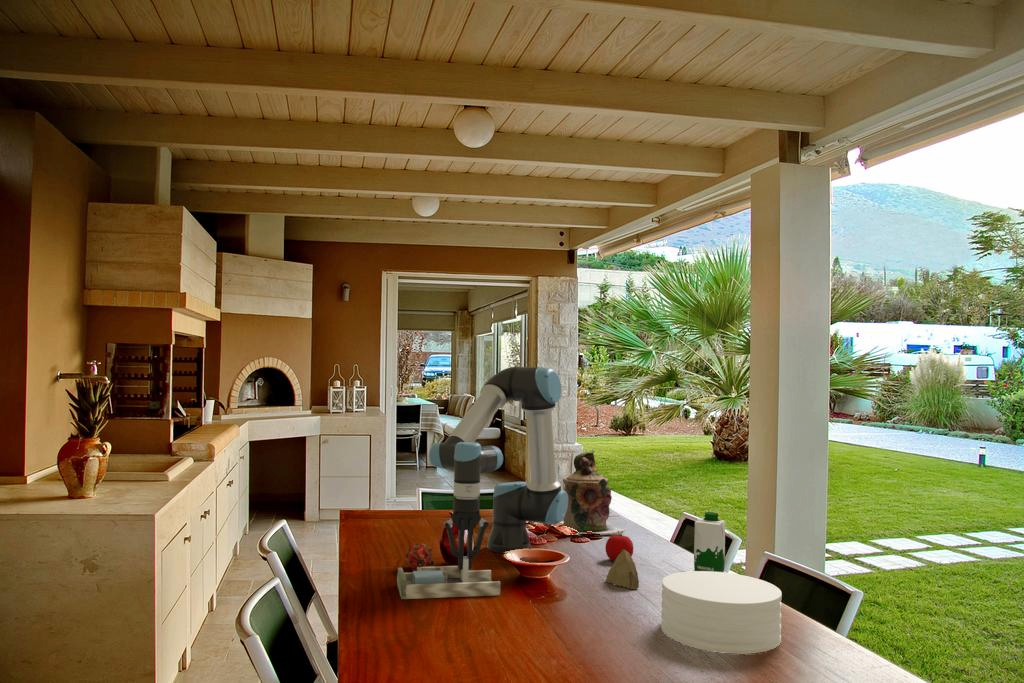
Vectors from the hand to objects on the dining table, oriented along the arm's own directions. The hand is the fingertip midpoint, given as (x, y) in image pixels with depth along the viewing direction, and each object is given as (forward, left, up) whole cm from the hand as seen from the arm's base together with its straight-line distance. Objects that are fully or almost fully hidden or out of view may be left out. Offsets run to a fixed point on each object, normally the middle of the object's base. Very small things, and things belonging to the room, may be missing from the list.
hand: (464, 580), depth 215 cm
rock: (-47, +2, -3) cm, 47 cm away
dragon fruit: (+10, -23, -3) cm, 25 cm away
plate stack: (-55, +45, -3) cm, 71 cm away
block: (+10, +1, -3) cm, 11 cm away
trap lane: (+5, -3, -2) cm, 6 cm away
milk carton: (-76, 0, -3) cm, 76 cm away
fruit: (-57, -26, -3) cm, 62 cm away
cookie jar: (-62, -75, -3) cm, 97 cm away
